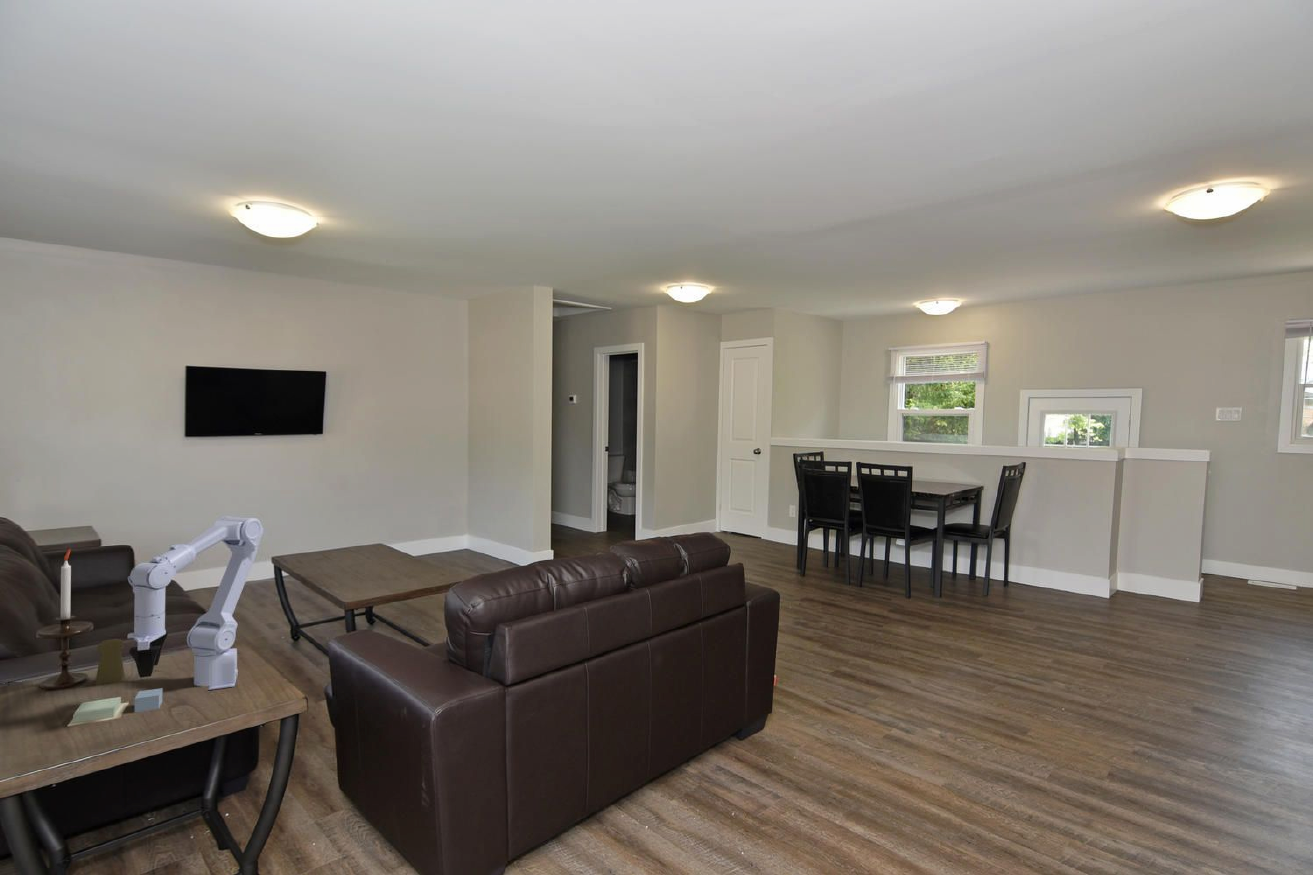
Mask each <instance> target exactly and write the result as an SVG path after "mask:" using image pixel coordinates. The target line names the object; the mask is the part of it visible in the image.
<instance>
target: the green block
mask: <svg viewBox="0 0 1313 875" xmlns="http://www.w3.org/2000/svg"><path fill="white" fill-rule="evenodd" d="M121 703H122V696H118V697H110V698H106V699H98V700H92V701H87V702H86V701H85V702H81V704H80V705H79V706H78V708H77V709H76V711H75V712H74V713H73V715H72V719H73V724H74V723H81V722H87V721H93V720H99V719H105V718H111V717H114V716H115V714H116V712H117V711H118V709H119V707H120V706H121Z"/></svg>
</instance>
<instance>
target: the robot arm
mask: <svg viewBox="0 0 1313 875" xmlns="http://www.w3.org/2000/svg"><path fill="white" fill-rule="evenodd" d="M264 531H265V530H264V527H263V525H262V523H261V521H260V519H258V518H256V517H237V516H231V515H225V516H222V517H221V518H219V519H218V520H215V521H214V522H213V524H212V526H210V528H207V530H204V531H203V532H202V533H201V534H199V535H198V536H196V537H195V538H194V539H193V540H190V541H189V542H188V543H186V544H184V543H178V544H173V545H170V546H169V549H168V550H166V551H164V552H163V553H161V554H160V555H158V556H154V557H152V559H151V560H150V561H148V562H141V563H139V564H137V565H136V566H134V567H133V568H132V569H131V572H130V574H129V576H127V581H128V583H129V585H131V587H132V593H134V609H133V610H134V614H133V615H134V616H133V617H134V619H133V620H134V621H133V622H134V623H133V624H134V625H133V626H134V627H133V631H134V632H129V633H128V634H127V639H133V640H135V642H136V643H137V646H133V647H130V648H129V650H128V651H129V655H130V656H131V657H132V658H133V661H134V663H135V665H136V669H137V672H138V676H139V678H149V677H152V675H153V672H154V669H155V668H154V667H155V666H158V664H159V662H160V657H161V653H162V649H163V645H164V643H165V641H166V639H167V637H168V636H169V632H167V631H166V587H167V586H168V585H169V584H170V583H171V581H172V579H173V578H174V576H176V574H178V573H179V572H180V571H182V570H184V569H186V568H187V567H188V566H190V565H191V564H193V563H194V562H195V559H196V557H197V555H198V554H201V553H202V552H204V551H206V550H207V549H210V548H211V547H213V546H215V545H217V544H219V543H220V542H222V543H223V544H224V545H225V546H226V547H227V548H229V550H230V551H231V554H232V555H231V556H230V559H229V561H228V564H227V566H226V568H225V571H224V573H223V576H222V579H221V581H220V583H219V584H218V585H219V586H218V588H217V590H216V593H215V594H214V598H213V600H212V602H211V605H210V607H209V610H208V611H207V612H206V613H204V614H202V615H201V616H198V618H197V620H196V623H195V624H194V625H193V626H192V627H191V629H190V630H189V631H188V634H187V636H186V644H187V645H188V647H189V648H191V649H192V650H191V651H192V653H193V654H194V655H193V657H194V658H193V659H194V660H193V662H194V663H193V684H194V686H196V687H208V691H210V690H212V691H213V690H218V689H225V688H230V687H235V685H236V681H237V677H238V673H239V670H238V649H237V648H236V647H235V648H233V647H232V646H233V645H234V643H235V640H236V632H237V628H238V625H239V624H238V622H237V621H236V620H235V618H234V617H233V614H234V612H235V609H236V606H237V604H238V602H239V599H240V596H241V595H242V592H243V589H244V587H245V584H246V582H247V579H248V577H249V574H250V571H251V569H252V567H253V564H254V561H255V559H256V557H257V553H258V550H259V545H260V541H261V539H262V536H263V534H264ZM231 647H232V648H231Z"/></svg>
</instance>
